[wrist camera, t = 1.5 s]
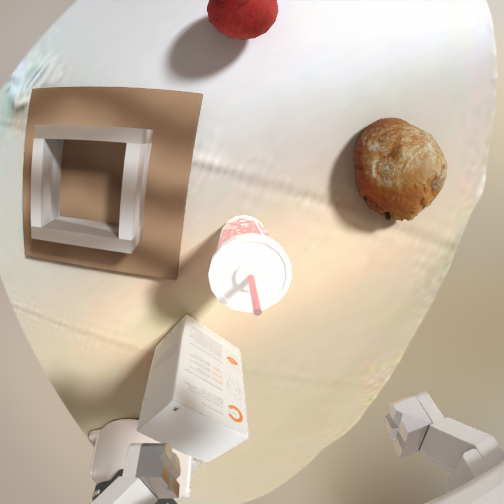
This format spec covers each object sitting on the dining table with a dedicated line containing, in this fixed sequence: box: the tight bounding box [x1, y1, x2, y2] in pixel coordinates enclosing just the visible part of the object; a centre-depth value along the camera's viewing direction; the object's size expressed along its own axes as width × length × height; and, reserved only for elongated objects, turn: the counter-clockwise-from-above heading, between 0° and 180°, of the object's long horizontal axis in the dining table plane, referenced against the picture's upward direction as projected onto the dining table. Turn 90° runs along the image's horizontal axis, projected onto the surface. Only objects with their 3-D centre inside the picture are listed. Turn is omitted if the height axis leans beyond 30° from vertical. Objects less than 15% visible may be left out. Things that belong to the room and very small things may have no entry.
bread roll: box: [354, 118, 447, 221], centre depth 28 cm, size 10×10×8 cm
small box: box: [137, 314, 249, 463], centre depth 30 cm, size 8×6×13 cm
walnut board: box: [23, 87, 203, 280], centre depth 26 cm, size 18×18×5 cm
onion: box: [207, 0, 278, 40], centre depth 20 cm, size 6×6×8 cm
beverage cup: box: [208, 215, 292, 315], centre depth 25 cm, size 6×6×14 cm
